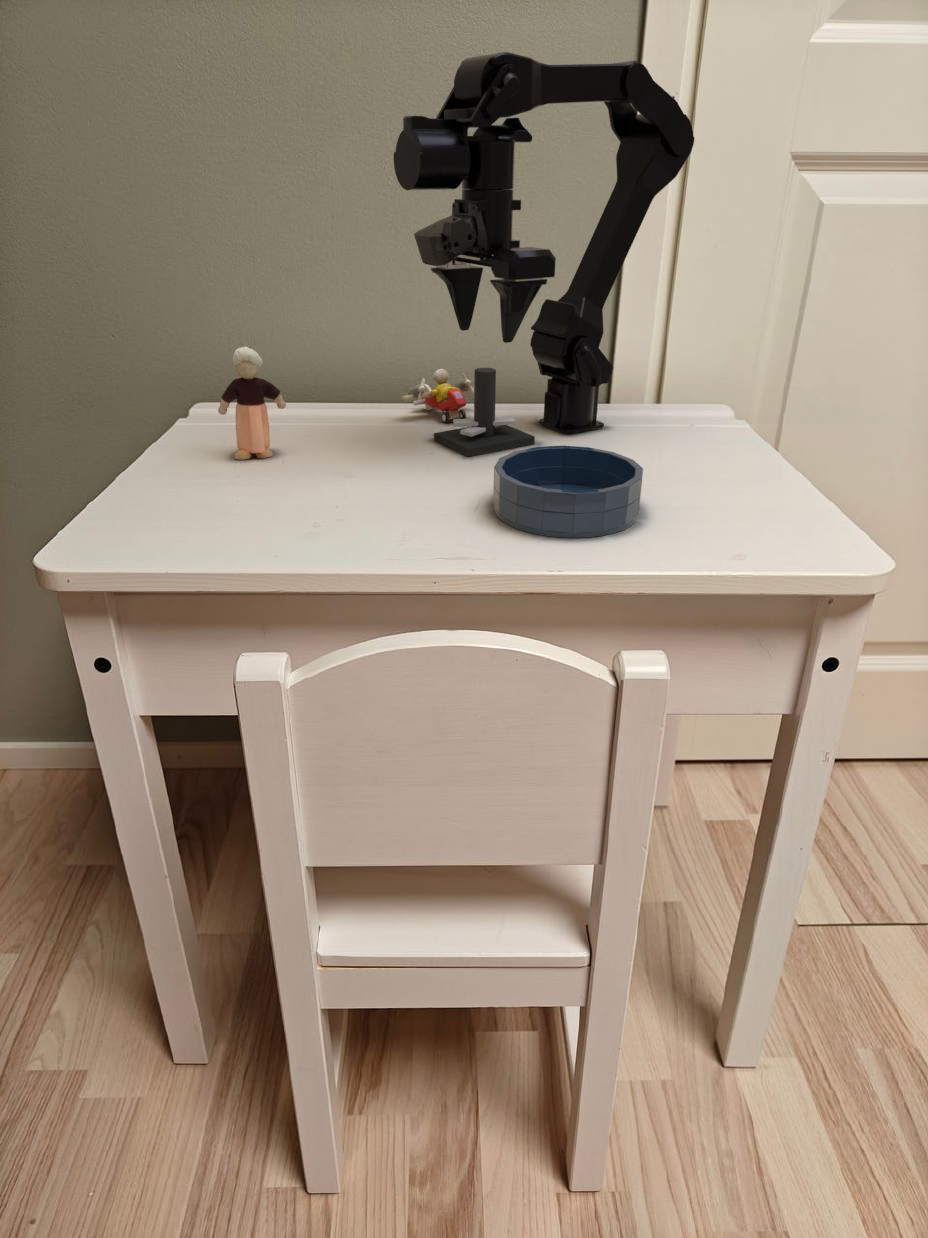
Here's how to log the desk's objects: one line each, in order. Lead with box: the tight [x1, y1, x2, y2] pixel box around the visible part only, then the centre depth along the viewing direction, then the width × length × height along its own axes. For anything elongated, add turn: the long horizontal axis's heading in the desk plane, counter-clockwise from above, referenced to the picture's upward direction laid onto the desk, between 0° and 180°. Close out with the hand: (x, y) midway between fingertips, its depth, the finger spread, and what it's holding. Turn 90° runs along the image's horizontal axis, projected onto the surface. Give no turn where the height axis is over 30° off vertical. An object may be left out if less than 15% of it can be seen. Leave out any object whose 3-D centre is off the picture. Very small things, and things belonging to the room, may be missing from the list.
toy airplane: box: [400, 368, 474, 423], centre depth 118 cm, size 9×9×6 cm
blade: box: [452, 367, 517, 437], centre depth 106 cm, size 8×5×8 cm, turn 123°
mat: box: [433, 425, 536, 458], centre depth 108 cm, size 10×8×1 cm
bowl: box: [492, 445, 644, 539], centre depth 87 cm, size 15×15×4 cm
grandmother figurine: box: [217, 346, 287, 461], centre depth 101 cm, size 8×4×13 cm, turn 117°
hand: (485, 335), depth 102 cm, fingers open, 9 cm apart
